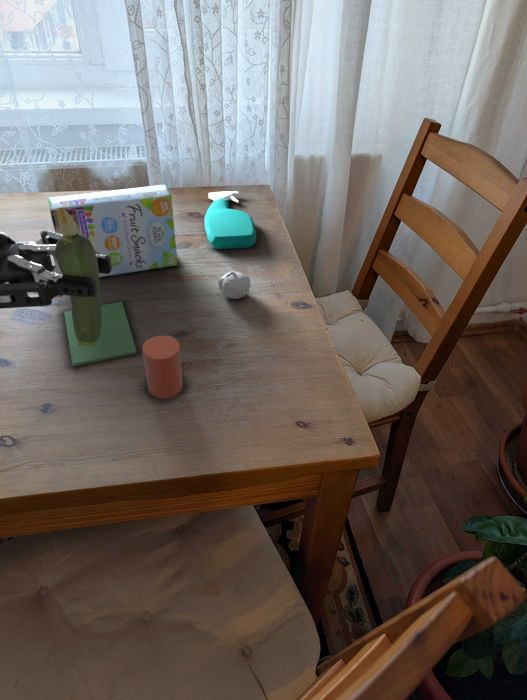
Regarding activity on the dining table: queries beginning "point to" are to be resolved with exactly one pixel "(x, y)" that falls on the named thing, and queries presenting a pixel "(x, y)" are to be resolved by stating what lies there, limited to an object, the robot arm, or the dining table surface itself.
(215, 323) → the dining table surface
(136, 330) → the dining table surface
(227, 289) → the garlic
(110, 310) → the green mat
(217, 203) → the spray bottle
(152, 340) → the orange cylinder block
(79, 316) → the vegetable
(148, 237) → the snack box
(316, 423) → the dining table surface
